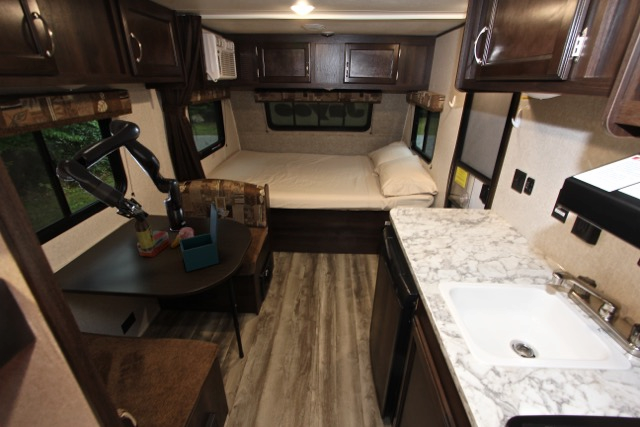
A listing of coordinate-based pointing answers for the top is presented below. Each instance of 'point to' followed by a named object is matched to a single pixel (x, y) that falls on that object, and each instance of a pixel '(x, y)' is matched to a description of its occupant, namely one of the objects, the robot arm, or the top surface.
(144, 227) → the sauce bottle
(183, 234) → the ice cream
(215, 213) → the cool box lid
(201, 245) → the cool box
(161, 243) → the medicine box
